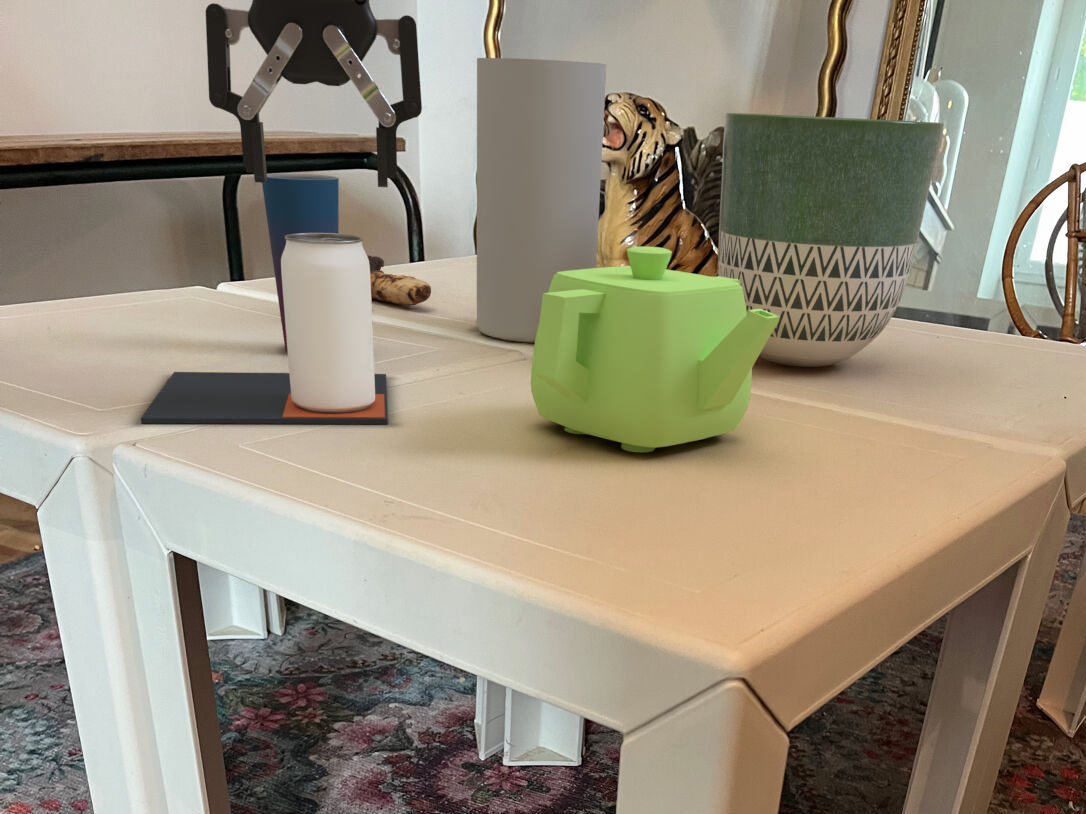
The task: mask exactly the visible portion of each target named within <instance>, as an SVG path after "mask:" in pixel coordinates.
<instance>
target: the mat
mask: <svg viewBox="0 0 1086 814" xmlns="http://www.w3.org/2000/svg"><path fill="white" fill-rule="evenodd" d="M374 375H375V401H374V402H373V403H372V405H371V406H370V407H369V408H367V409H365V410H361V411H356V412H349V413H319V412H311V411H307V410H303V409H301V408H299V407H297V406H296V403H294V402H293V401H292V397H291V387H290V375H289V372H232V371H231V372H229V371H228V372H227V371H226V372H223V371H222V372H220V371H219V372H216V371H214V372H213V371H209V372H208V371H174V372H173V373H172V374H171V376H170V377H169V379H167V381H166V382H165V384H164V385H163V386H162V388H161V389H160V390H159V392H158V394H157V395H156V396H155V398H153V401H152V402H151V403H150V405H148V407H147V408H146V410H145V412H144V413H143V414H142V415H141V417H140V423H141V424H205V425H206V424H207V425H208V424H211V425H212V424H215V425H216V424H217V425H218V424H223V425H225V424H230V425H231V424H232V425H233V424H235V425H236V424H239V425H240V424H241V425H243V424H244V425H247V424H248V425H249V424H250V425H252V424H253V425H255V424H256V425H261V424H263V425H388V424H389V418H388V417H389V416H388V386H387V374H386V373H374Z"/></svg>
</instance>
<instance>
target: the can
mask: <svg viewBox="0 0 1086 814" xmlns="http://www.w3.org/2000/svg"><path fill="white" fill-rule="evenodd" d="M285 239H286V246H285V249H284V251H283V254H282V257H281V273H282V287H283V300H284V313H285V326H286V338H287V351H288V352H287V362H288V371H289V372H288V373H289V375H290V387H291V397H292V401H293V402H294V403H296V406H297V407H299V408H301V409H303V410H307V411H311V412H319V413H349V412H356V411H361V410H365V409H367V408H369V407H370V406H371V405H372V403H373V402H374V401H375V375H374V374H375V353H374V352H375V351H374V328H373V327H374V326H373V305H372V304H373V303H372V298H371V281H370V265H369V260H368V257H367V255H368V254H367V252H366V251H365V248H364V245H363V241H364V238H363V237H362V236H359V235H356V234H355V235H354V234H347V233H338V234H336V233H297V234H289V235H286V236H285Z"/></svg>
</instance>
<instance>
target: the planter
mask: <svg viewBox="0 0 1086 814" xmlns="http://www.w3.org/2000/svg"><path fill="white" fill-rule="evenodd" d="M944 127H945V124H944V123H943V122H936V121H935V122H934V121H933V122H931V121H917V120H916V121H915V120H914V121H912V120H897V119H896V120H895V119H894V120H893V119H876V118H875V119H874V118H857V117H855V118H853V117H852V118H851V117H835V116H833V117H832V116H811V115H791V114H790V115H789V114H768V113H767V114H766V113H743V112H726V113H725V115H724V127H723V143H722V162H721V163H722V165H721V167H722V168H721V184H720V185H721V186H720V203H719V225H718V246H717V247H718V248H717V249H718V250H717V276H720V277H726V278H732V279H738V280H740V286H742V289H743V294H744V298H745V304H746V311H748V310H753V309H762V310H765V311H767V312H770V313H772V314H775V315H777V316H780V319H779V322H778V324H777V325H776V327H775V329H774V330H773V332H772V334H771V336H770V337H769V339H768V341H767V342H766V344H765V346H764V348H763V349H762V351H761V353H760V354H759V356H758V357H761V358H763V359H765V360H767V361H770V362H772V363H776V364H779V365H783V366H789V367H797V368H798V367H799V368H819V367H828V366H832V365H836V364H839V363H841V362H844V361H846V360H848V359H850V358H852V357H853V356H855V355H857V354H858V353H859V352H861V351H862V350H863V349H865V348H867V346H869V345H870V344H871V343H872V342H873V341H874V340H875V339H876V338H878V336H879V335H880V334H881V333H882V332H883V331H884V329H885V328H886V327H887V325H888V324H889V323H890V321H891V319H892V317H893V316H894V314H895V312H896V310H897V308H898V306H899V303H900V301H901V298H902V297H903V294H904V291H905V289H906V286H907V283H908V279H909V277H910V276H909V275H910V273H911V268H912V264H913V260H914V255H915V252H916V248H917V244H918V239H919V235H920V231H921V227H922V223H923V219H924V214H925V211H926V205H927V201H928V197H929V192H930V187H931V184H932V179H933V176H934V171H935V168H936V164H937V159H938V155H939V150H940V145H941V141H942V137H943V132H944Z"/></svg>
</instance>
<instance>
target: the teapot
mask: <svg viewBox="0 0 1086 814" xmlns="http://www.w3.org/2000/svg"><path fill="white" fill-rule="evenodd" d="M626 253H627V258H628V262H629V265H621V266H619V265H618V266H605V267H596V268H591V269H580V270H569V271H560V272H557V273H556V275H554V277H553V279H552V282H551V285H550V288H549V291H548V293H543V297H542V305H541V313H540V321H539V326H538V330H537V335H536V340H535V343H534V347H533V352H532V361H531V371H530V389H531V390H530V391H531V394H532V398H533V401H534V404H535V407H536V410H537V412H538V414H539V416H540V417H542V418H543V419H546V420H548V421H550V422H553V423H556V424H557V425H561V426H563V427H564V428H563V431H565V432H567V433H570V434H575V435H590V436H594V437H598V438H601V439H606V440H609V441H613V442H618V443H621V445H620V448H621V449H622V450H624V451H627V452H630V453H631V452H633V453H649V452H650V453H651V452H653V451H655V450H656V448H664V447H671V446H676V445H680V444H685V443H691V442H696V441H699V440H700V441H701V440H706V439H708V438H712V437H716V436H719V435H723V434H727V433H730V432H733V431H735V430H737V429H738V428H739V426H740V424H741V422H742V420H743V418H744V417H745V414H746V412H747V409H748V408H749V404H750V400H751V393H752V392H751V391H752V373H753V369H752V368H753V367H754V365H755V363H756V361H757V360H758V358H759V357H760V356H759V354H760V353H761V351H762V349H763V348H764V346H765V344H766V342H767V341H768V339H769V337H770V336H771V334H772V332H773V330H774V329H775V327H776V325H777V324H778V322H779V319H780V316H777V315H775V314H772V313H770V312H767V311H765V310H762V309H753V310H748V311H746V304H745V298H744V294H743V289H742V286H740V280H738V279H732V278H726V277H720V276H718V275H717V276H709V275H704V274H699V273H698V274H697V273H692V272H687V271H686V272H685V271H680V270H673V269H667V268H668V265H669V263H670V261H671V258H672V254H673V251H672V250H670V249H669V248H665V247H664V248H663V247H659V246H631V247H629V248H627V249H626Z"/></svg>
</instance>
